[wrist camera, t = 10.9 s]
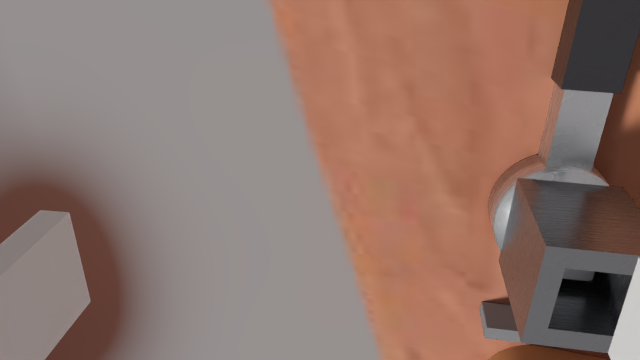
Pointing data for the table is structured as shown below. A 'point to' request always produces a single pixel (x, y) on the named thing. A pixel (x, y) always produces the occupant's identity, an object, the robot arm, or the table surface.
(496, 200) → the ratchet
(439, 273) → the table surface
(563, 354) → the tan slotted hollow cylinder
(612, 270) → the socket
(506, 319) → the bar
